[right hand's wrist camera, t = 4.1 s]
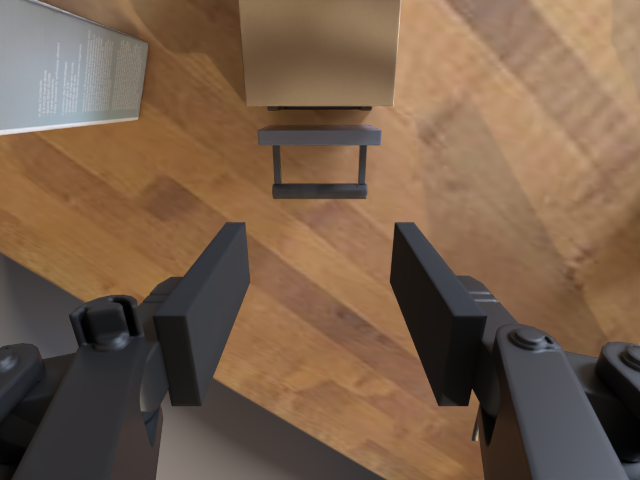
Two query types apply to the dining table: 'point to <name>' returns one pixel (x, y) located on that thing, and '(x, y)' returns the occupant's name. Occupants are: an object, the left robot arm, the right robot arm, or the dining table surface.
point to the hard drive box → (65, 70)
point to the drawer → (319, 136)
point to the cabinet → (319, 52)
